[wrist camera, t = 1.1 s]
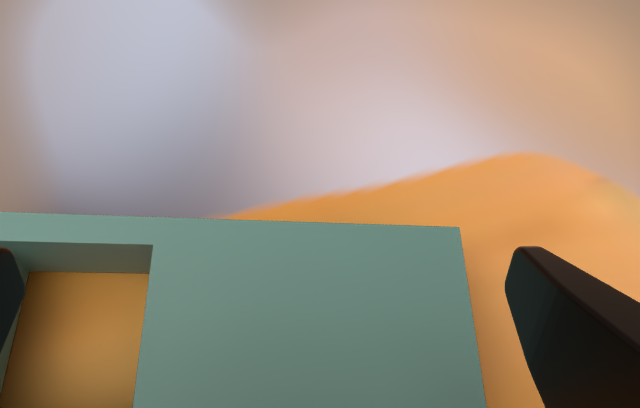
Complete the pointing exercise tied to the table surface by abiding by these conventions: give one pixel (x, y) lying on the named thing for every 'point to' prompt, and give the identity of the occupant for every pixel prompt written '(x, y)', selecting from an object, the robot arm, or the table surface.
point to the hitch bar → (277, 308)
